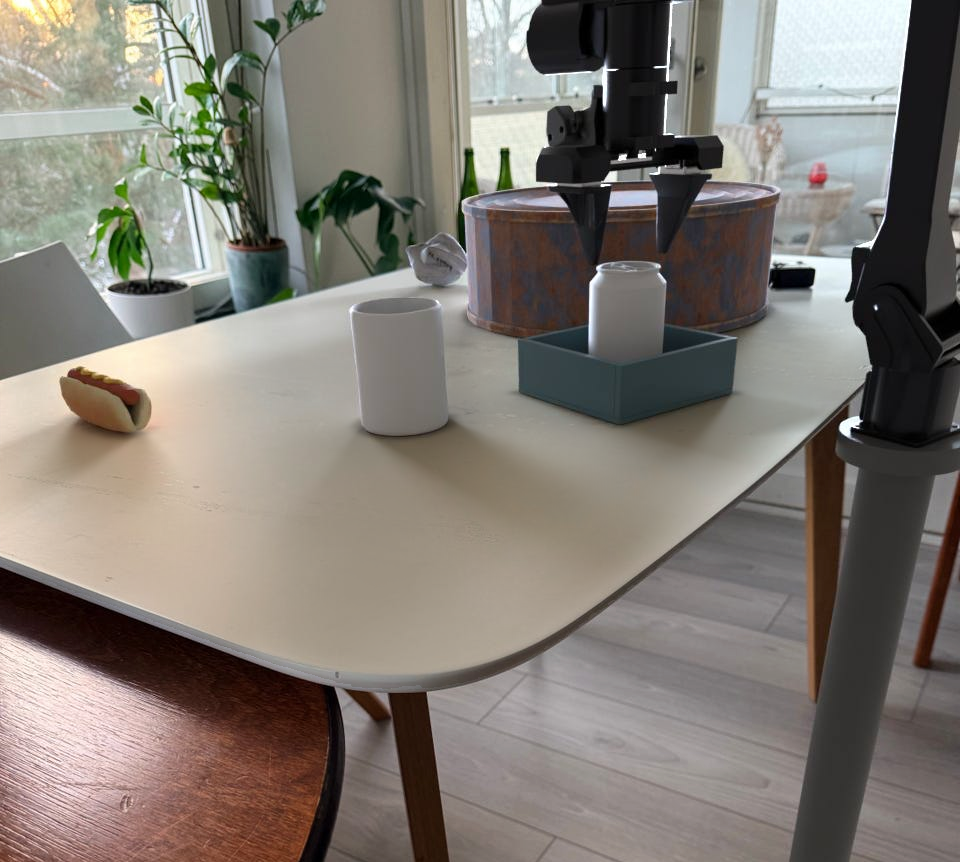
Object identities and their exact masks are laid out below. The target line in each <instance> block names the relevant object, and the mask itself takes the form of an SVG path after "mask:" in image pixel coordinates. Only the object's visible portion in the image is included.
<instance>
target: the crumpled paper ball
mask: <svg viewBox="0 0 960 862" xmlns="http://www.w3.org/2000/svg"><path fill="white" fill-rule="evenodd" d="M462 247H463V246H461V245H460V243H459V241H458V240H456V238H455V237H453V236H452V235H451V234H450V233H448V232H443V231H441V232H439V233H438V234H436V235H434V237H432V238H430V239H428V241H426V242H423V241H422V242H419V243H417V244H414V245H408V246H406V248H405V253H406V254H407V256H408V260H409V264H410V266H411V268H412V271H413V275H414V277H415V278H416V279H417V280H418V281H419V282H422V283H424V284H428V285H434V286H445V285H451V284H454V283H455V282H457V281H458V280H459V279H460V278H461V276H462V275H464V273H465V272H466V271H467V254H466V252H465V249H463V248H462Z"/></svg>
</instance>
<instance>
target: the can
mask: <svg viewBox="0 0 960 862" xmlns="http://www.w3.org/2000/svg"><path fill="white" fill-rule="evenodd" d="M660 268H661V266H660V265H659V264H657V263H653V262H644V261H621V262H610V263H605V264H601V265H599V266H597V267H596V269H597V271H598V273H597V275H596V276H595V277H594V278H593V279H592V281H591V282H590V297H589V351H588V355H592V356H596V357H600V358H604V359H608V360H612V361H616V362H620V363H625V362H629V361H633V360H638V359H642V358H646V357H650V356H654V355H658V354H662V350H663V333H664V317H665V300H666V283H667V282H666V281H665V279H664V278H663V277H662V275H661V274H660V273H659V269H660Z"/></svg>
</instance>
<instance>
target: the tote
mask: <svg viewBox="0 0 960 862" xmlns="http://www.w3.org/2000/svg"><path fill="white" fill-rule="evenodd" d="M738 340H739V338H738V337H735V336H730V335H725V334H721V333H711V332H706V331H701V330H696V329H691V328H686V327H681V326H676V325H671V324H666V323H664V333H663V350H662V354H658V355H654V356H650V357H646V358H642V359H638V360H633V361H629V362H625V363H620V362H616V361H612V360H608V359H604V358H600V357H596V356H592V355H588V351H589V324H588V325H583V326H578V327H574V328H569V329H564V330H559V331H554V332H550V333H545V334H540V335H535V336H530V337H526V338H524V337H520V338H517V366H518V369H517V370H518V371H517V372H518V393H520V394H523V395H527V396H530V397H533V398H536V399H538V400H542V401H545V402H547V403H550V404H551V403H552V404H554V405H557V406H560V407H563V408H566V409H570V410H572V411H575V412H578V413H581V414H585V415H587V416H590V417H593V418H597V419H600V420H603V421H606V422H609V423H613V424H614V425H618V426H621V425H625V424H628V423H631V422H636V421H639V420H643V419H646V418H649V417H653V416H656V415H661V414H663V413H667V412H670V411H674V410H678V409H681V408H684V407H687V406H691V405H695V404H699V403H702V402H706V401H708V400H713V399H716V398H719V397H722V396H723V397H724V396H726V395H730V394H733V390H734V379H735V369H736V361H737V347H738Z"/></svg>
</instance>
